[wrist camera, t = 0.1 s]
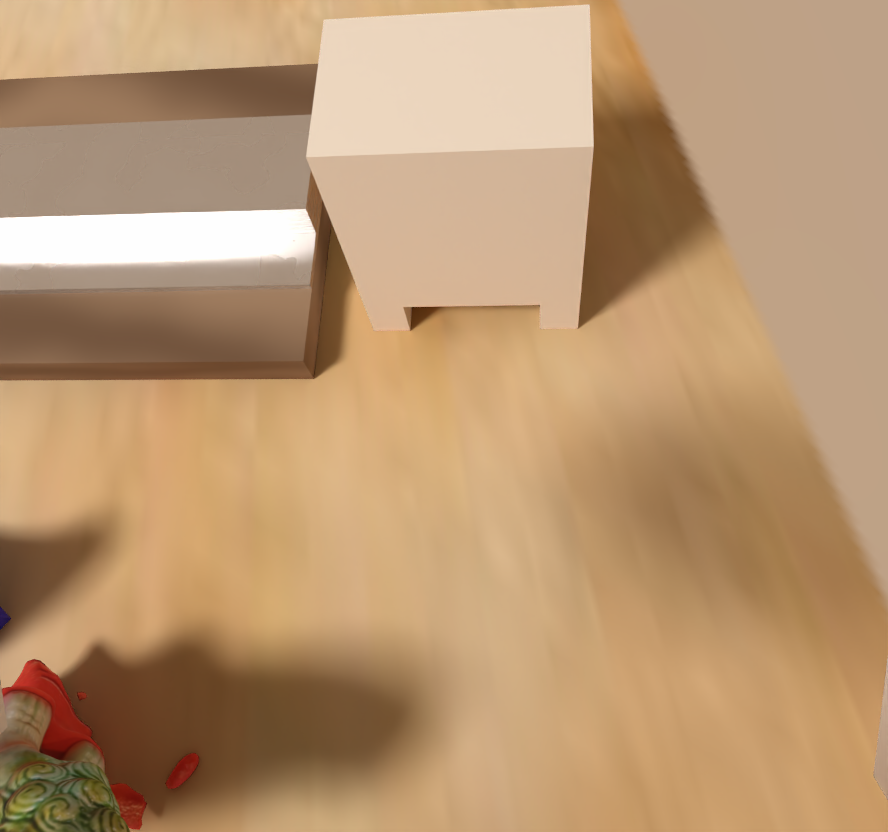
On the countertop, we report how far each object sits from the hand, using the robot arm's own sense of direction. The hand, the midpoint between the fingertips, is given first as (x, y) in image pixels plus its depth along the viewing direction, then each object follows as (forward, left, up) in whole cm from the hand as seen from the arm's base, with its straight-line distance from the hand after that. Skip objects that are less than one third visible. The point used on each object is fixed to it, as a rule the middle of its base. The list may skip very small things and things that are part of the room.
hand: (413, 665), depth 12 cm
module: (+16, +1, -15) cm, 22 cm away
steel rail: (+19, +16, -14) cm, 28 cm away
